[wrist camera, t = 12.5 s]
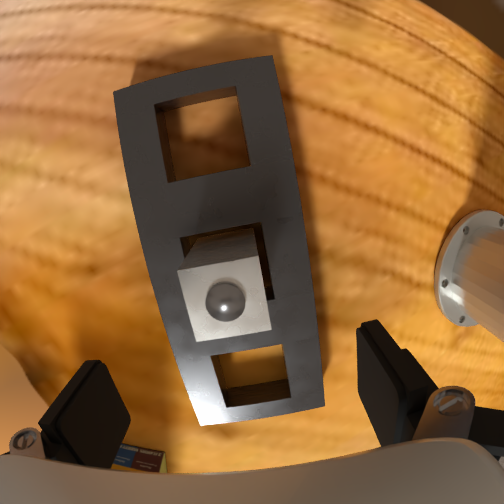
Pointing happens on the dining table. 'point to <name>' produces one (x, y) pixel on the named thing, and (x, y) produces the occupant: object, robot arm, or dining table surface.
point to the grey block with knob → (224, 286)
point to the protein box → (139, 459)
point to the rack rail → (221, 217)
